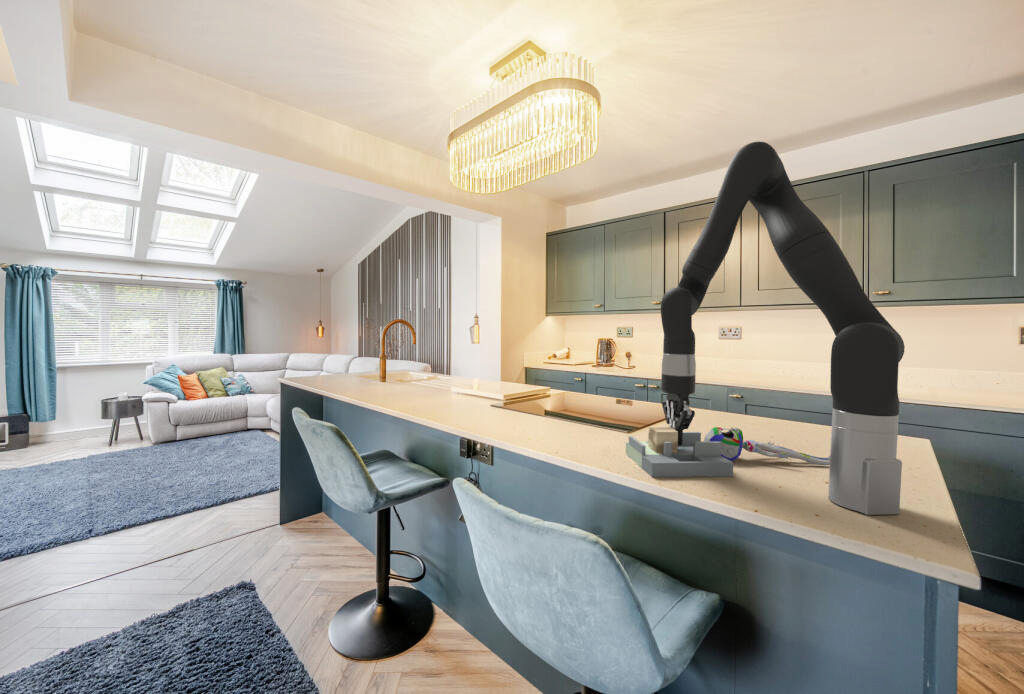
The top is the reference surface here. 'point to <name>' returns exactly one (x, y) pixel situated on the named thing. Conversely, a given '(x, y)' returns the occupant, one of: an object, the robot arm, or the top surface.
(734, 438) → the toy
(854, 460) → the robot arm
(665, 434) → the block
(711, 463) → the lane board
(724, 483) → the top surface
